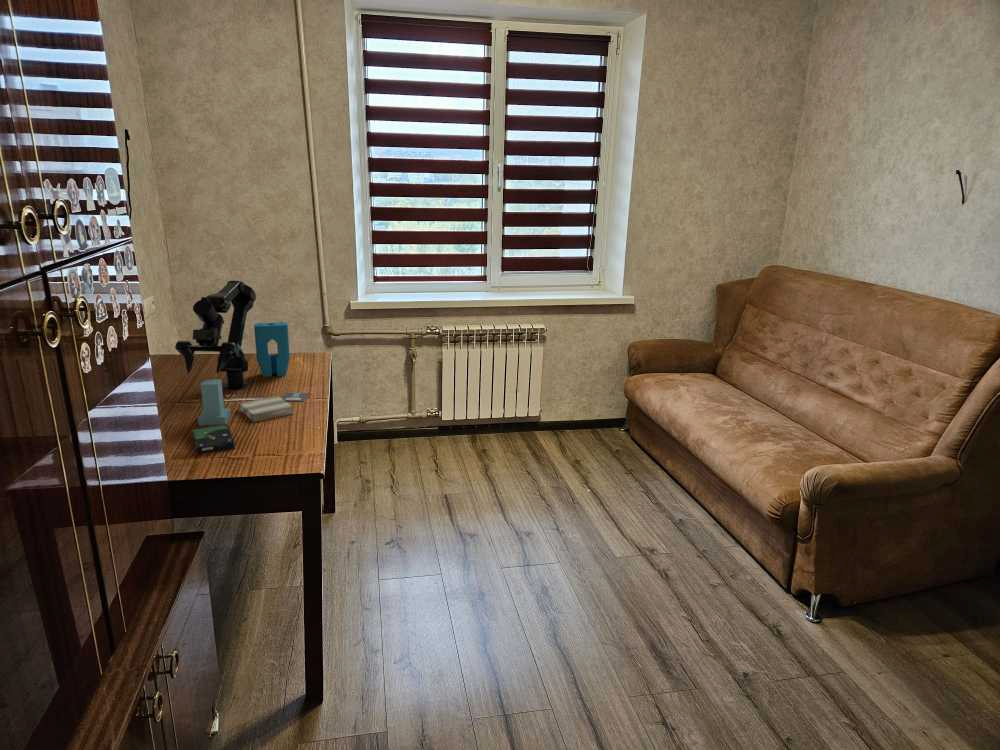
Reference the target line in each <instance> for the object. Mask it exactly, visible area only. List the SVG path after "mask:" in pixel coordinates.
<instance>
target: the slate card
mask: <svg viewBox="0 0 1000 750" xmlns="http://www.w3.org/2000/svg"><path fill="white" fill-rule="evenodd" d="M309 395H310V393H309V392H308V393H307V392H286V393H284V395H283V397H281V398H282V399H283V400H284V401H286V402H287V403H289V402H293V403H296V402H299V403H301V402H303V403H304V402H305V400H306V399H307V398H308V396H309Z"/></svg>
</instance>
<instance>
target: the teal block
mask: <svg viewBox="0 0 1000 750" xmlns="http://www.w3.org/2000/svg"><path fill="white" fill-rule="evenodd" d="M222 384H223V383H222V379H221V378H219V379H218V378H216V379H213V378H212V379H208V378H207V379H204V380H203V381H202V382H201V383H200V392H201V400H202V401H201V402H202V410H201V413H200V414H199V415H198V417H197V423H198V426H219V425H226V424H227V422H228V421H229V419H230V418H231V416H232V415H231V414H232V413H231V408H230V407H226V408H225V406H224V395H223V385H222Z"/></svg>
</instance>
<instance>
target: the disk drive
mask: <svg viewBox="0 0 1000 750" xmlns="http://www.w3.org/2000/svg"><path fill="white" fill-rule="evenodd" d="M191 433H192V439H193V442H194V443H193V444H194V448H195V452H196V455H202V454H208V453H215V452H223V451H227V450H228V451H229V450H234V449H236V447H235V446H236V445H235V440H234V437H233V436H232V432H231V429H230V427H229V425H228V424H227V423H226V425H210V426H208V427H203V428H194V429H192V431H191Z"/></svg>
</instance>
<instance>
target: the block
mask: <svg viewBox="0 0 1000 750" xmlns="http://www.w3.org/2000/svg"><path fill="white" fill-rule="evenodd" d="M253 327H254V328H253V329H254V339H255V340H254V341H255V352H256V353H255V354H256V362H257V364H258V367H259V369H260V372H261V375H262V377H264V378H268V377H270V378H271V377H272V376H273V375H275V374H277V377H282V376H286V375H287V373H288V368H289V363H290V360H291V359H290V358H291V357H290V355H291V354H290V341H289V339H290V338H289V324H288V322H287V321H283V322H281V321H279V322H262V323H261V322H259V323H257V322H256V323H254V324H253ZM271 340H272V341H274V342H275V343H276V344H277V345H276V347H277V348H276V349H277V353H269V345H268V343H270V341H271Z"/></svg>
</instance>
